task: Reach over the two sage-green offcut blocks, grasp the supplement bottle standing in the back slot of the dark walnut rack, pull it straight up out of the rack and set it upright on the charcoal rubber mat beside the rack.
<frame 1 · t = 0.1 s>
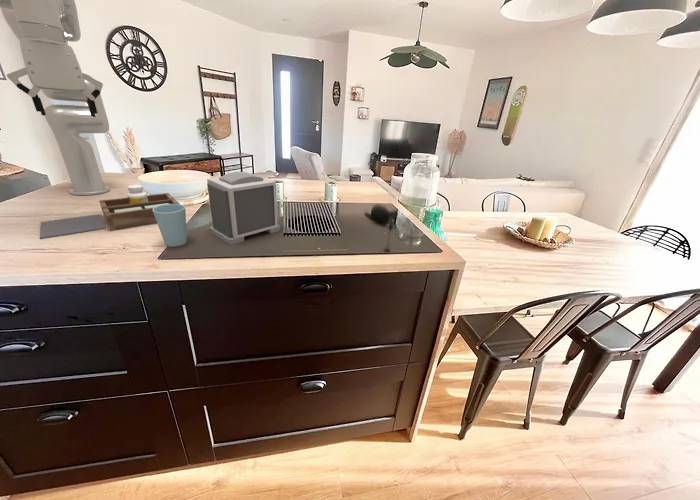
hand: (69, 115, 76), 31 cm above the countertop, tool pointing down, fingers open, 9 cm apart
mat: (73, 226, 88), on the countertop
rack: (144, 217, 98), on the countertop
cup: (176, 243, 83), on the countertop
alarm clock: (246, 231, 95), on the countertop
supplement bottle: (142, 214, 101), resting in rack
offcut b: (160, 218, 99), resting in rack
offcut a: (132, 223, 94), resting in rack
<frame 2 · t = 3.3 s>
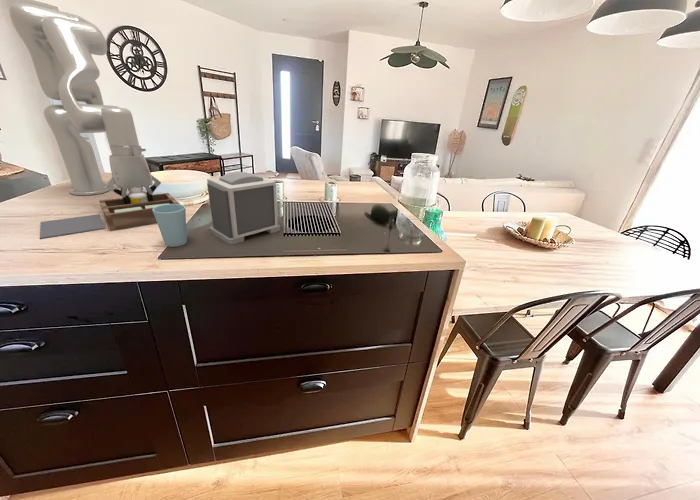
hand: (140, 205, 99), 3 cm above the countertop, tool pointing down, fingers closed on supplement bottle, 5 cm apart
supplement bottle: (142, 214, 101), resting in rack, touching gripper
everything else where it was.
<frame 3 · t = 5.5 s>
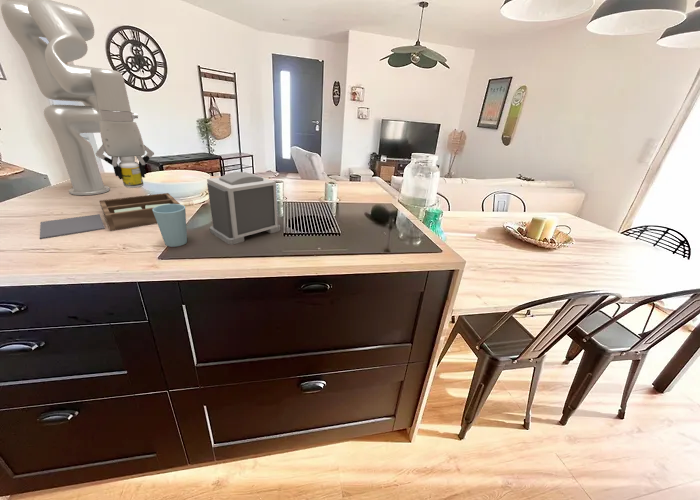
hand: (131, 176, 95), 13 cm above the countertop, tool pointing down, fingers closed on supplement bottle, 5 cm apart
supplement bottle: (134, 186, 97), point 10 cm above the countertop, touching gripper
everything else where it was.
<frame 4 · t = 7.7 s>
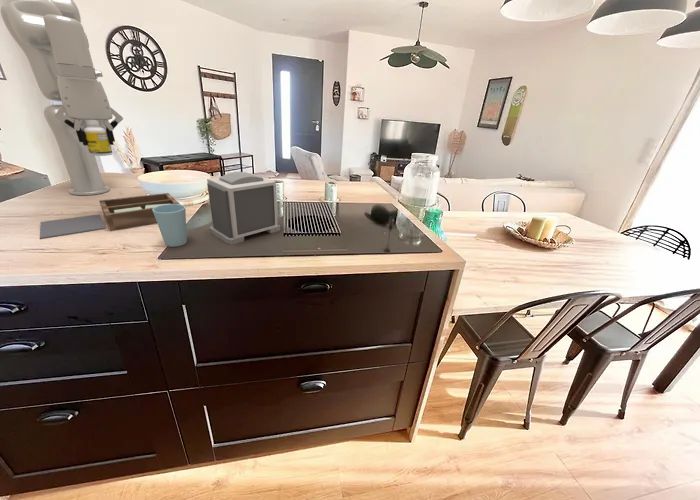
hand: (98, 143, 86), 23 cm above the countertop, tool pointing down, fingers closed on supplement bottle, 5 cm apart
supplement bottle: (101, 155, 88), point 20 cm above the countertop, touching gripper
everything else where it was.
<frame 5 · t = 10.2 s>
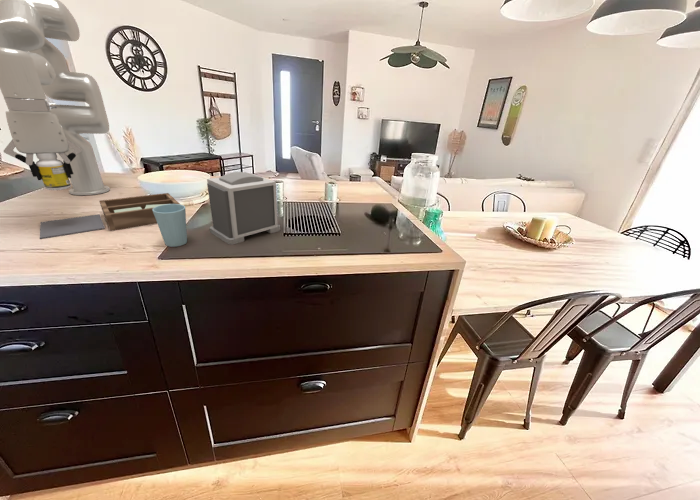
hand: (54, 177, 82), 15 cm above the countertop, tool pointing down, fingers closed on supplement bottle, 5 cm apart
supplement bottle: (59, 188, 83), point 11 cm above the countertop, touching gripper
everything else where it was.
when the fingers open (5 cm above the countertop, at t = 12.4 s): supplement bottle drops 1 cm, resting on mat.
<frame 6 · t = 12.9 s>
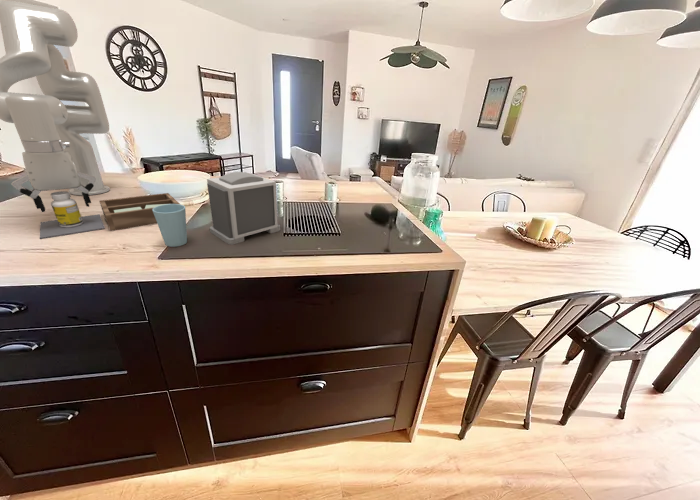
hand: (66, 208, 86), 6 cm above the countertop, tool pointing down, fingers open, 9 cm apart
supplement bottle: (72, 225, 88), resting on mat
everything else where it was.
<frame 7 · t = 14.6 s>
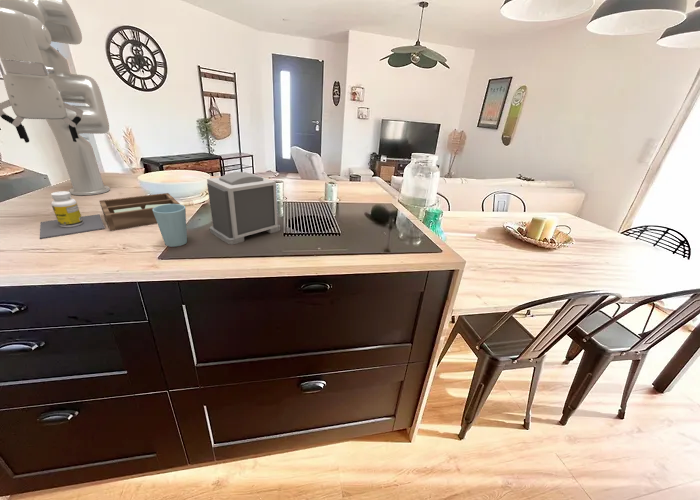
hand: (52, 141, 81), 24 cm above the countertop, tool pointing down, fingers open, 9 cm apart
nothing on the countertop moved.
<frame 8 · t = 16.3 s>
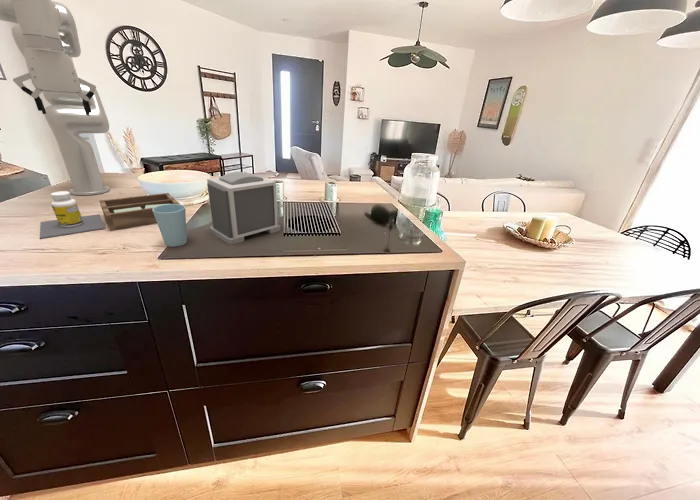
hand: (67, 114, 87), 30 cm above the countertop, tool pointing down, fingers open, 9 cm apart
nothing on the countertop moved.
at the end: supplement bottle inside the target area on the mat (0.2 cm from its centre), point 0.2 cm above the mat's base; supplement bottle tilted 0°; the gripper is holding nothing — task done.
